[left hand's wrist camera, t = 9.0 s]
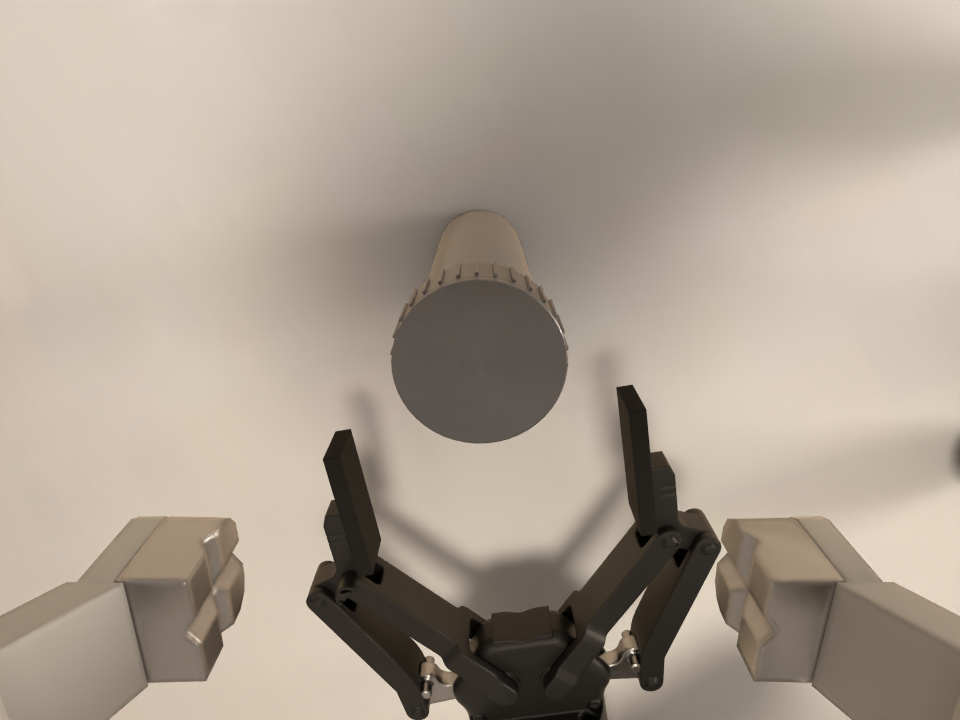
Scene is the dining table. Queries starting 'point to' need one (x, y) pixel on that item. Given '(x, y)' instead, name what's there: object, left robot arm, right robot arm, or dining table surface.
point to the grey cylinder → (479, 243)
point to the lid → (479, 353)
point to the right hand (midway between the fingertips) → (481, 420)
